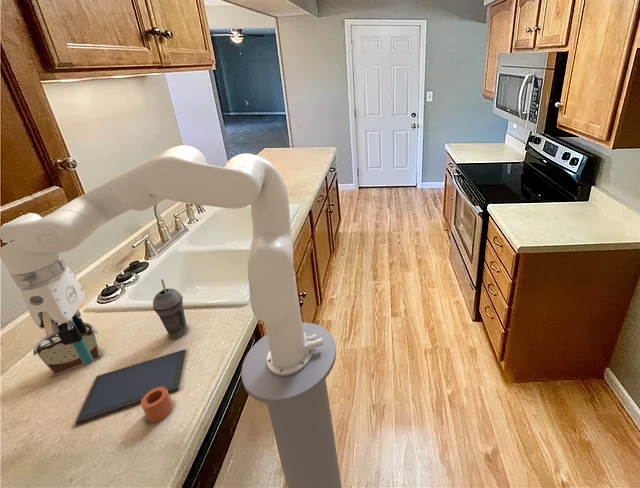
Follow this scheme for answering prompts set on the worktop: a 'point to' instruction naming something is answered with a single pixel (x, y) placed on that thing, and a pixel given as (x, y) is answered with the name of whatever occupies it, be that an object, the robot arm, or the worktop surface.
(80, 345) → the stylus
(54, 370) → the food container
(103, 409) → the tablet
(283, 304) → the robot arm
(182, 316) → the beverage cup
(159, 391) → the holder
